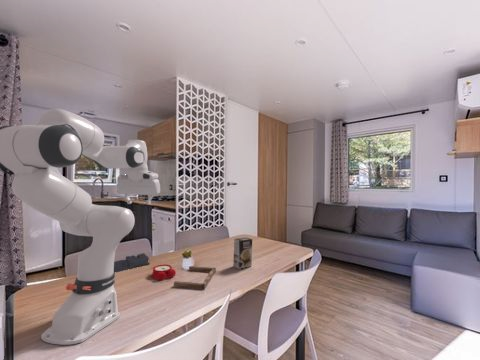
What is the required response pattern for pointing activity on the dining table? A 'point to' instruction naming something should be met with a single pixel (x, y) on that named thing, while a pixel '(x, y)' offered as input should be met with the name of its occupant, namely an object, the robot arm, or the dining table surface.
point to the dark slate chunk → (131, 262)
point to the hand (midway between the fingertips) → (138, 203)
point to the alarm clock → (163, 272)
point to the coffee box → (242, 252)
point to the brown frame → (197, 285)
